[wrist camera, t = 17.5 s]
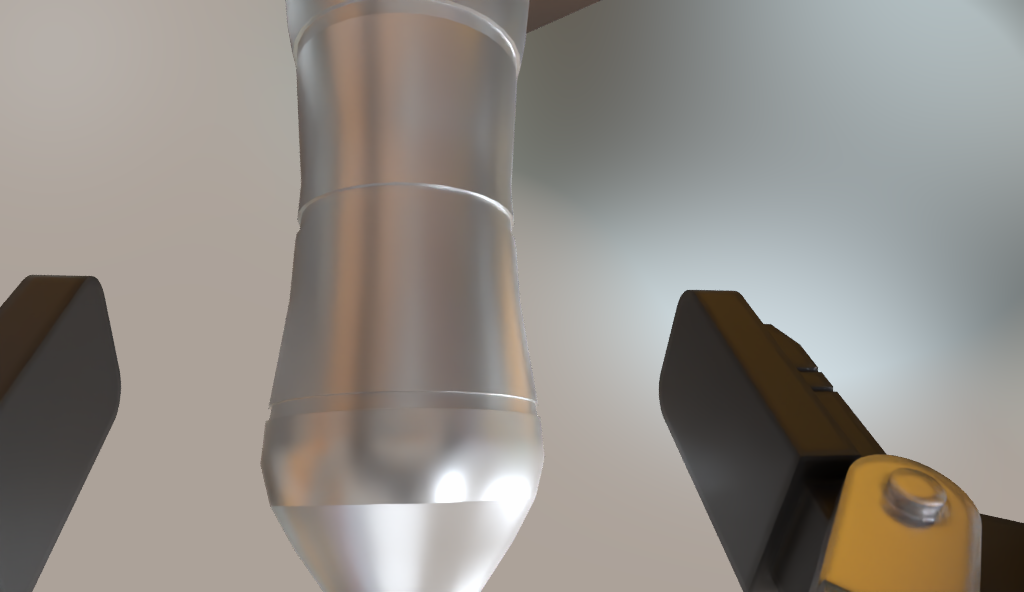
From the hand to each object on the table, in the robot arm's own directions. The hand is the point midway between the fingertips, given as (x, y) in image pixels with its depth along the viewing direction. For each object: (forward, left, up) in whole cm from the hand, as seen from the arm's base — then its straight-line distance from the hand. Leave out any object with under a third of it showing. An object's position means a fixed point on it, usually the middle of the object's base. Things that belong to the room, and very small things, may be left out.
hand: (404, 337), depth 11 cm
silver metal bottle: (+5, -5, -13) cm, 15 cm away
